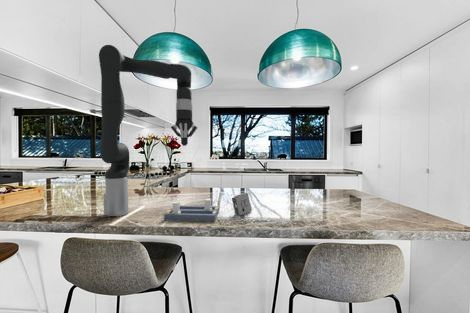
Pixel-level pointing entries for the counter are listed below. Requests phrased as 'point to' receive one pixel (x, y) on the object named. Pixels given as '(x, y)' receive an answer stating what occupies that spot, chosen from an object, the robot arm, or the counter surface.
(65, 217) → the counter surface
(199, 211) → the blue-grey compartment tray
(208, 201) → the tab
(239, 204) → the electrical switch
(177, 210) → the tab
